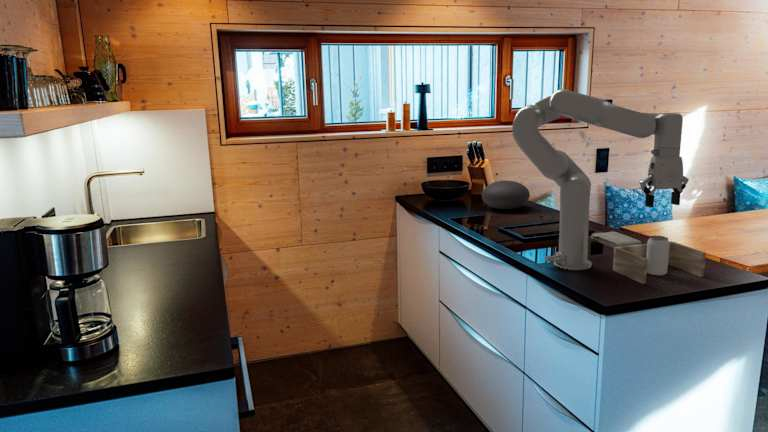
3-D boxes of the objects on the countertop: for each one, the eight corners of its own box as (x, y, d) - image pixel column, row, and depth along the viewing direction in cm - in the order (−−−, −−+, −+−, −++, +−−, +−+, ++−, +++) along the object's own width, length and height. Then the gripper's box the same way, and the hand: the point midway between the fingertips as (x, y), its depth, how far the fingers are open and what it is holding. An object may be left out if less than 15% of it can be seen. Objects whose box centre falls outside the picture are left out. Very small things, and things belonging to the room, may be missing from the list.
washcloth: (612, 236, 232) (613, 229, 232) (643, 247, 215) (643, 239, 215) (588, 239, 229) (588, 232, 229) (616, 250, 212) (617, 242, 212)
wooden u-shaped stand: (642, 284, 173) (644, 259, 172) (612, 269, 188) (613, 247, 186) (703, 276, 178) (705, 252, 176) (670, 263, 193) (671, 241, 191)
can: (669, 276, 180) (672, 240, 177) (648, 275, 181) (650, 240, 178) (663, 270, 186) (666, 235, 183) (643, 269, 187) (645, 235, 185)
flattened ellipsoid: (473, 211, 289) (473, 182, 286) (493, 202, 309) (493, 176, 306) (518, 215, 275) (519, 185, 272) (536, 206, 295) (537, 178, 292)
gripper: (650, 155, 171) (646, 209, 174) (698, 152, 174) (693, 205, 178) (634, 153, 178) (631, 205, 181) (681, 150, 181) (676, 201, 185)
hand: (662, 205), depth 180 cm, fingers open, 9 cm apart
